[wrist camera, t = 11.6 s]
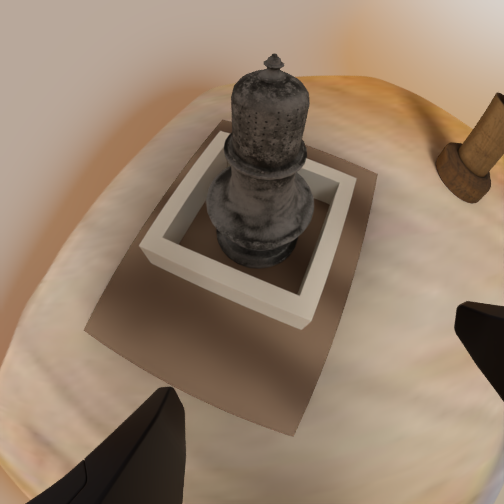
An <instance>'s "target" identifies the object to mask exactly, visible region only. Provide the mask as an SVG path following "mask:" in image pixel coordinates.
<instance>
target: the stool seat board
mask: <svg viewBox="0 0 504 504" xmlns="http://www.w3.org/2000/svg"><path fill="white" fill-rule="evenodd" d="M230 133H232V122H229V121H225V120H222V121H221V122H220V123H219V125H218V126H217V127H216V128H215V129H214V131H213V132H212V133H211V134H210V135H209V137H208V138H207V139H206V140H205V142H204V143H203V144H202V145H201V147H200V148H199V149H198V151H197V152H196V153H195V154H194V156H193V157H192V158H191V160H190V161H189V162H188V163H187V165H186V166H185V167H184V169H183V170H182V171H181V173H180V174H179V176H178V177H177V178H176V180H175V181H174V182H173V184H172V185H171V187H170V188H169V189H168V191H167V192H166V194H165V195H164V196H163V198H162V199H161V201H160V202H159V204H158V205H157V206H156V208H155V209H154V211H153V212H152V214H151V215H150V217H149V218H148V220H147V221H146V223H145V224H144V226H143V227H142V229H141V231H140V232H139V234H138V235H137V237H136V238H135V240H134V241H133V243H132V245H131V246H130V248H129V250H128V251H127V253H126V254H125V256H124V258H123V259H122V261H121V263H120V264H119V266H118V268H117V269H116V271H115V273H114V275H113V276H112V278H111V280H110V282H109V283H108V285H107V287H106V289H105V291H104V292H103V294H102V296H101V298H100V300H99V302H98V303H97V305H96V307H95V309H94V311H93V313H92V315H91V317H90V319H89V321H88V323H87V325H86V327H85V329H84V331H85V332H87V333H88V334H90V335H91V336H92V337H94V338H95V339H97V340H98V341H100V342H101V343H103V344H104V345H105V346H107V347H108V348H110V349H111V350H113V351H114V352H116V353H118V354H119V355H121V356H122V357H124V358H125V359H127V360H129V361H130V362H132V363H133V364H135V365H137V366H138V367H140V368H142V369H143V370H145V371H147V372H149V373H150V374H152V375H154V376H156V377H157V378H159V379H161V380H163V381H165V382H166V383H168V384H170V385H172V386H174V387H176V388H178V389H180V390H182V391H184V392H186V393H188V394H190V395H192V396H194V397H196V398H198V399H200V400H202V401H204V402H206V403H208V404H210V405H213V406H215V407H217V408H219V409H222V410H224V411H226V412H228V413H231V414H233V415H236V416H238V417H240V418H243V419H245V420H248V421H250V422H253V423H256V424H258V425H261V426H264V427H266V428H269V429H272V430H275V431H278V432H281V433H284V434H287V435H290V436H294V434H295V432H296V430H297V427H298V425H299V423H300V421H301V419H302V416H303V414H304V412H305V410H306V407H307V405H308V403H309V401H310V398H311V396H312V393H313V391H314V389H315V386H316V384H317V381H318V379H319V376H320V374H321V371H322V369H323V366H324V364H325V361H326V358H327V356H328V353H329V350H330V347H331V345H332V342H333V339H334V336H335V333H336V330H337V328H338V325H339V322H340V319H341V316H342V313H343V309H344V306H345V303H346V300H347V297H348V293H349V290H350V287H351V283H352V280H353V277H354V273H355V270H356V266H357V262H358V259H359V255H360V251H361V247H362V243H363V239H364V235H365V231H366V227H367V223H368V218H369V214H370V209H371V205H372V200H373V195H374V190H375V185H376V180H377V174H376V173H374V172H371V171H369V170H367V169H365V168H362V167H360V166H358V165H355V164H353V163H351V162H348V161H346V160H343V159H341V158H338V157H336V156H333V155H331V154H328V153H325V152H323V151H320V150H317V149H315V148H312V147H309V146H306V145H305V146H306V148H307V158H306V161H305V164H304V165H303V167H302V168H301V169H300V170H299V171H298V172H297V173H298V174H299V175H300V176H302V177H303V178H304V180H305V181H306V183H307V184H308V185H309V187H310V189H311V192H312V195H313V198H314V212H313V216H312V219H311V222H310V223H309V225H308V226H307V228H306V229H305V231H304V232H303V233H302V234H301V235H299V236H298V240H297V243H296V246H295V248H294V250H293V251H292V253H291V254H290V256H289V257H287V258H286V259H285V260H284V261H283V262H281V263H279V264H277V265H275V266H272V267H268V268H262V269H257V268H248V267H245V266H242V265H239V264H237V263H236V262H234V261H233V260H231V259H230V258H228V257H227V255H226V254H225V253H224V252H223V251H222V249H221V247H220V245H219V243H218V240H217V233H216V229H217V228H216V227H215V226H214V225H213V223H212V221H211V219H210V217H209V215H208V212H207V204H206V198H207V193H208V188H209V187H210V185H211V183H212V181H213V180H214V178H215V177H216V176H217V175H218V174H219V173H220V172H221V171H222V170H224V169H226V168H227V167H229V166H231V165H230V164H229V163H228V161H227V159H226V158H225V154H224V144H225V140H226V139H227V137H228V136H229V134H230Z"/></svg>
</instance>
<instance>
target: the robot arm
mask: <svg viewBox="0 0 504 504" xmlns="http://www.w3.org/2000/svg"><path fill="white" fill-rule="evenodd" d="M454 329H455V333H456V335H457V336H458V337H459V339H460V340H461V342H462V343H463V345H464V347H465V348H466V350H467V351H468V353H469V354H470V356H471V357H472V359H473V361H474V362H475V364H476V365H477V366H478V368H479V369H480V370H481V372H482V373H483V374H484V376H485V377H486V378H487V380H488V381H489V382H490V384H491V385H492V386H493V388H494V389H495V390H496V392H497V393H498V395H499V396H500V397H501V399H502V400H503V402H504V306H498V305H491V304H484V303H477V302H470V301H466V302H464V303H462V304H460V305H459V306H458V307H457V310H456V318H455V325H454ZM185 462H186V441H185V411H184V407H183V405H182V403H181V401H180V399H179V397H178V395H177V393H176V391H175V390H174V388H173V387H162V388H158V389H157V390H156V391H155V392H154V393H153V394H152V395H151V396H150V397H149V398H148V399H147V400H146V401H145V402H144V403H143V404H142V405H141V406H140V407H139V408H138V409H137V410H136V411H135V412H134V413H132V414H131V415H130V416H129V417H128V418H127V419H126V420H125V421H124V422H123V423H122V424H121V425H120V426H119V427H118V428H117V429H116V430H115V431H114V432H113V433H111V434H110V435H109V436H108V437H107V438H106V439H105V440H104V441H103V442H102V443H101V444H100V445H99V446H98V447H96V448H95V449H94V450H93V451H92V452H91V453H90V454H89V455H88V456H87V457H86V458H85V460H82V461H81V462H80V463H79V464H78V465H77V466H76V467H75V468H73V469H72V470H71V471H70V472H69V473H67V474H66V475H65V476H64V477H63V478H61V479H60V480H59V481H57V482H56V483H55V484H53V485H52V486H51V487H49V488H48V489H46V490H45V491H44V492H42V493H41V494H39V495H38V496H36V497H35V498H33V499H32V500H30V501H29V502H27V503H26V504H182V501H183V487H184V474H185Z"/></svg>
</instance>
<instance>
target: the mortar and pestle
mask: <svg viewBox="0 0 504 504" xmlns="http://www.w3.org/2000/svg"><path fill="white" fill-rule="evenodd" d="M503 154H504V95H502V94H501V93H496V95H495V96H494V98H493V100H492V101H491V103H490V105H489V106H488V108H487V109H486V111H485V113H484V114H483V116H482V117H481V119H480V120H479V122H478V123H477V125H476V126H475V128H474V129H473V130H472V132H471V133H470V135H469V136H468V137H467V139H466V140H465V141H464V143H463V144H461V143H449V144H448V145H447V146H446V147H445V148H444V150H443V151H442V152H441V154H440V155H439V156H438V158H437V161H436V166H437V170H438V173H439V175H440V177H441V179H442V181H443V182H444V184H445V185H446V186H447V187H448V188H449V189H450V190H451V191H452V192H453V193H454V194H455V195H456V196H457V197H459V198H460V199H461V200H463V201H465V202H468V203H477V202H478V201H479V200H480V199H481V198H482V197H483V196H484V195H485V194H486V193H487V192H488V191H489V190H490V187H491V179H490V173H489V171H490V170H491V168H492V167H493V166H494V165H495V164H496V162H497V161H498V160H499V159H500V158H501V156H502V155H503Z"/></svg>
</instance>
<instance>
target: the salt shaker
mask: <svg viewBox="0 0 504 504" xmlns="http://www.w3.org/2000/svg"><path fill="white" fill-rule="evenodd" d="M264 65H265V66H266V67H267V69H264V70H258V71H255V72H252V73H249V74H246V75H245V76H243V77H242V78H241V79H240V80H239V81H238V82H237V83H236V84H235V85H234V88H233V92H232V96H231V106H232V133H230V134H229V136H228V137H227V139H226V140H225V144H224V154H225V158H226V159H227V161H228V163H229V164H230V165H231V166H229V167H227V168H226V169H224V170H222V171H221V172H220V173H219V174H218V175H217V176H216V177H215V178H214V180H213V181H212V183H211V185H210V187H209V188H208V193H207V198H206V204H207V212H208V215H209V217H210V219H211V221H212V223H213V225H214V226H215V227H216V228H217V229H216V233H217V240H218V243H219V245H220V247H221V249H222V251H223V252H224V253H225V254H226V255H227V257H228V258H230V259H231V260H233V261H234V262H236V263H237V264H239V265H242V266H245V267H248V268H257V269H262V268H268V267H272V266H275V265H277V264H279V263H281V262H283V261H284V260H285V259H286V258H287V257H289V256H290V254H291V253H292V251H293V250H294V248H295V246H296V243H297V240H298V236H299V235H301V234H302V233H303V232H304V231H305V229H306V228H307V226H308V225H309V223H310V222H311V219H312V216H313V212H314V198H313V195H312V192H311V189H310V187H309V185H308V184H307V183H306V181H305V180H304V178H303V177H302V176H300V175H299V174H298V173H297V172H298V171H299V170H300V169H301V168H302V167H303V165H304V164H305V161H306V158H307V148H306V146H305V143H304V141H303V140H302V136H303V132H304V127H305V123H306V118H307V113H308V109H309V93H308V91H307V89H306V88H305V86H304V85H303V83H302V82H301V81H300V80H298V79H297V78H295V77H293V76H292V75H290V74H288V73H285V72H283V71H281V70H280V68H282V67H283V66H284V63H282V62H281V59H280V58H279V57H278V56H277V54H272V56H270V57H269V58H268V60H266V61H264Z"/></svg>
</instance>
